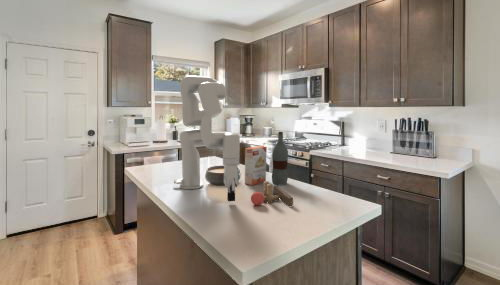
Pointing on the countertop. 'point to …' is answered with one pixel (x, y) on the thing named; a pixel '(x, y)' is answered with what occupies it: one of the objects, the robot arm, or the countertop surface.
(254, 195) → the ball
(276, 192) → the dark wooden bar
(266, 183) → the pin
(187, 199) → the countertop surface
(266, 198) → the front pin
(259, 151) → the cracker box
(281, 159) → the bottle
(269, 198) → the pin
